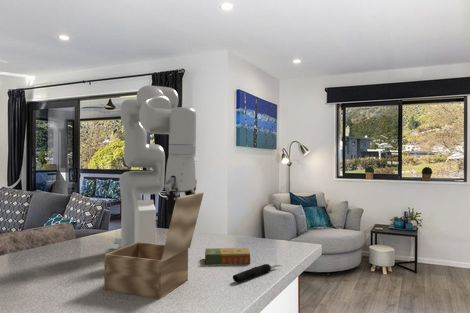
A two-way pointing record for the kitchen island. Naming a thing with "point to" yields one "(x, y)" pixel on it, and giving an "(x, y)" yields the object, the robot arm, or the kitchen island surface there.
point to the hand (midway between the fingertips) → (181, 211)
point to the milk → (145, 222)
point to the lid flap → (182, 225)
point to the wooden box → (144, 270)
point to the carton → (227, 256)
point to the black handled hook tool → (253, 272)
